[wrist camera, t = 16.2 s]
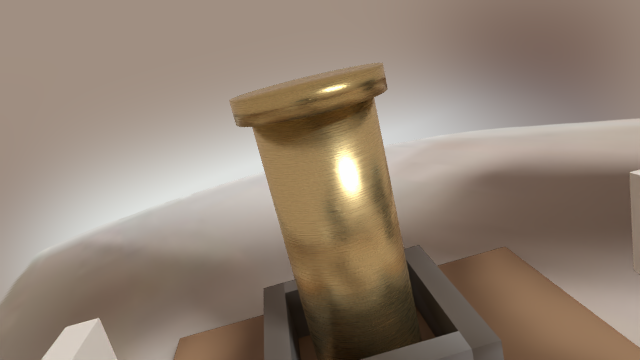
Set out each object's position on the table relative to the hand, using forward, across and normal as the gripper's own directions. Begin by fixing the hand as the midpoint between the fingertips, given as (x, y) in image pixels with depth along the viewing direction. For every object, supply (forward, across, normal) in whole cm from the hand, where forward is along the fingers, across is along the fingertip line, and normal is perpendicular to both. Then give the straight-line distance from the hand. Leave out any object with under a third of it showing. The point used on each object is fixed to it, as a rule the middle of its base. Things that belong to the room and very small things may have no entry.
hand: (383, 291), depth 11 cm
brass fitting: (+9, 0, -9) cm, 13 cm away
